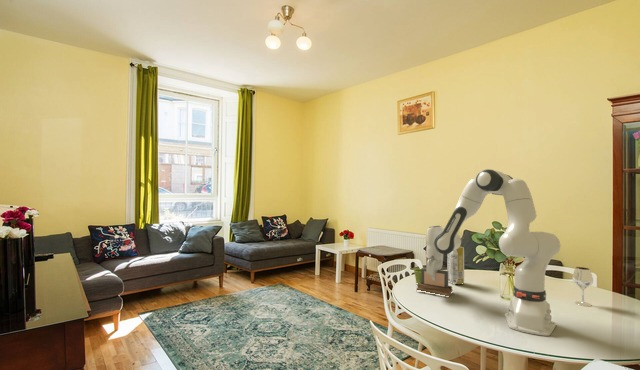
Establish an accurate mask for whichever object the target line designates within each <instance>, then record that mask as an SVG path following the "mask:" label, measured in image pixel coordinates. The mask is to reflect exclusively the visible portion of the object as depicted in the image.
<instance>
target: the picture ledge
mask: <svg viewBox="0 0 640 370" xmlns="http://www.w3.org/2000/svg"><path fill="white" fill-rule="evenodd" d="M417 290H421V291H426V292H430V293H435V294H440V295H445V296H449V295H450V294H451V292H452V291H453V286H452V285H448V288H443V287H437V286H430V285H424V284H422V281H421V282H420V284H418V285H417V287H416V291H417ZM451 295H452V294H451ZM451 295H450V296H451ZM450 296H449V297H450Z"/></svg>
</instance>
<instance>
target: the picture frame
mask: <svg viewBox="0 0 640 370" xmlns="http://www.w3.org/2000/svg"><path fill="white" fill-rule="evenodd" d="M421 269H422V284H424V285H430V286H437V287H443V288H448V286H449V282H448V271H447V270H442V269H440V270H438V271H437V272H436V273H435V277H436V280H435V281H434V280H432V277H431V275H430V274H427V267H422V268H421Z"/></svg>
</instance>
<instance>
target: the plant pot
mask: <svg viewBox="0 0 640 370" xmlns="http://www.w3.org/2000/svg"><path fill="white" fill-rule="evenodd" d="M413 273H414V277H415V284H416V283H418V284H420V282H421V281H422V268H414V269H413Z"/></svg>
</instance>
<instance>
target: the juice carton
mask: <svg viewBox="0 0 640 370" xmlns="http://www.w3.org/2000/svg"><path fill="white" fill-rule="evenodd" d="M446 256H447V259H446V260H447V261H446V262H447V264H446V265H447V266H446V267H447V269H446V271H448V281H450V282H452V283H454V284H462V283H464V284H465V247H463V246H460V247H459V248H458V249H456V250H454V251H452V252H451V253H449V254H446ZM452 283H451V284H452ZM454 284H453V285H454Z"/></svg>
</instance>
